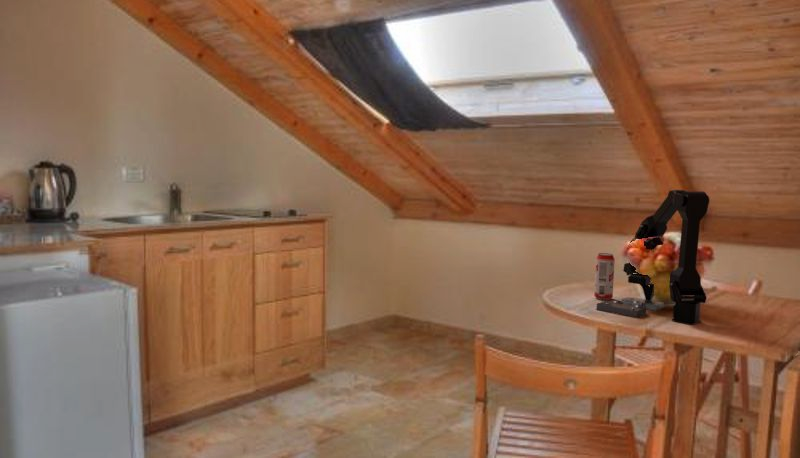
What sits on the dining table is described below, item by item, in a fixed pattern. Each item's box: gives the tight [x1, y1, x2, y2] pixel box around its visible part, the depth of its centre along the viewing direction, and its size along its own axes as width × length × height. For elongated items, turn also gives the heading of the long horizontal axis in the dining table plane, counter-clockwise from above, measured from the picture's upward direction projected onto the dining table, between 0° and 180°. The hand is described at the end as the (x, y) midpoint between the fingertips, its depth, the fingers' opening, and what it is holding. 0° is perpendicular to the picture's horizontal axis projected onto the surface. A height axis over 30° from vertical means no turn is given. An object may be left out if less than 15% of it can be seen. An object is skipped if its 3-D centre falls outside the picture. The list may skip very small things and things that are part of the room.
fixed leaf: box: [596, 300, 648, 318], centre depth 206 cm, size 14×8×2 cm, turn 42°
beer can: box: [594, 252, 616, 301], centre depth 225 cm, size 6×6×16 cm
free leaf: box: [620, 296, 665, 312], centre depth 214 cm, size 12×8×2 cm
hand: (648, 302), depth 217 cm, fingers closed
